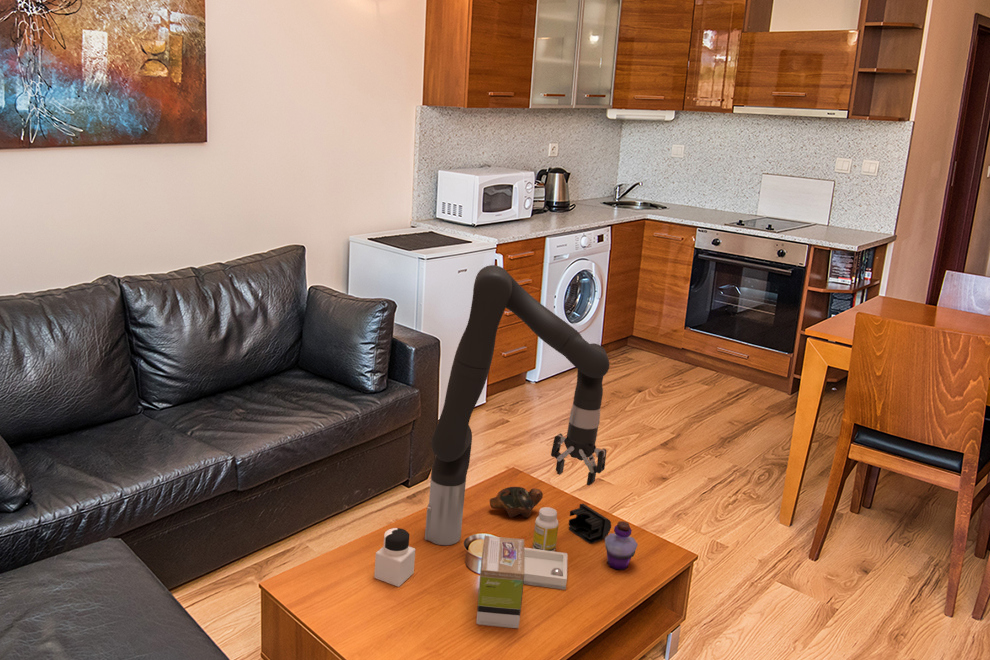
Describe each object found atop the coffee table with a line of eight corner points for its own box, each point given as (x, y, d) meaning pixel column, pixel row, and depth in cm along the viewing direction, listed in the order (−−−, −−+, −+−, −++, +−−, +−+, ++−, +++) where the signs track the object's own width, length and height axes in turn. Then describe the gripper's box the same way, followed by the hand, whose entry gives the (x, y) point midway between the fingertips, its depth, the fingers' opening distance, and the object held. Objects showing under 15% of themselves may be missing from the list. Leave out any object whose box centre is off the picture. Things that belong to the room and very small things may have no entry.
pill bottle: (555, 543, 226) (560, 507, 223) (554, 556, 220) (559, 518, 217) (532, 540, 227) (537, 504, 224) (531, 552, 221) (536, 515, 218)
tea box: (478, 587, 204) (484, 533, 200) (519, 591, 204) (526, 537, 199) (475, 625, 189) (481, 568, 185) (519, 630, 189) (526, 573, 185)
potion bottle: (640, 569, 218) (647, 528, 215) (615, 576, 214) (621, 535, 210) (619, 552, 225) (626, 512, 222) (594, 559, 221) (600, 519, 217)
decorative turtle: (545, 520, 238) (547, 496, 235) (493, 525, 235) (494, 500, 232) (536, 502, 247) (538, 478, 244) (486, 506, 244) (487, 482, 241)
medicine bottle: (414, 573, 207) (417, 530, 203) (398, 587, 200) (402, 543, 197) (389, 564, 209) (392, 521, 206) (373, 578, 203) (376, 534, 200)
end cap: (609, 538, 232) (613, 516, 230) (591, 545, 228) (594, 523, 226) (584, 522, 239) (587, 501, 237) (566, 528, 235) (569, 507, 233)
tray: (508, 582, 207) (510, 571, 206) (512, 556, 218) (513, 546, 218) (565, 589, 206) (566, 579, 205) (565, 563, 218) (567, 553, 217)
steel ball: (549, 581, 207) (551, 571, 206) (550, 575, 210) (551, 564, 209) (561, 583, 207) (563, 572, 206) (562, 576, 210) (563, 566, 209)
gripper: (552, 417, 213) (543, 474, 218) (603, 434, 207) (593, 493, 211) (565, 409, 219) (556, 465, 224) (615, 425, 213) (605, 483, 218)
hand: (574, 478), depth 218 cm, fingers open, 8 cm apart
